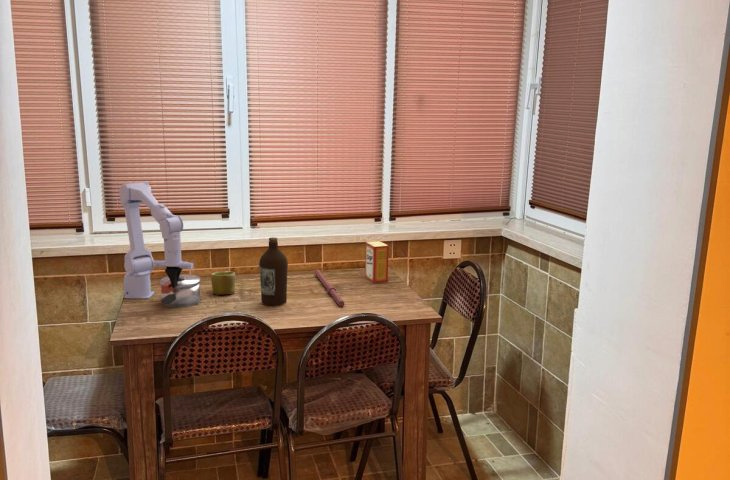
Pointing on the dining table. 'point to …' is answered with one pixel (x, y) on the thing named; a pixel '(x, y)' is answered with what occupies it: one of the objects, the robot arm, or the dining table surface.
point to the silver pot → (182, 297)
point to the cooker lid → (179, 282)
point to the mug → (223, 282)
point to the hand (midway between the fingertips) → (174, 286)
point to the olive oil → (273, 275)
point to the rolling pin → (330, 288)
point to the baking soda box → (376, 261)
